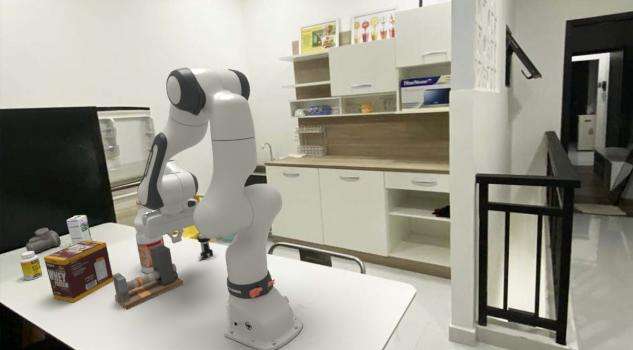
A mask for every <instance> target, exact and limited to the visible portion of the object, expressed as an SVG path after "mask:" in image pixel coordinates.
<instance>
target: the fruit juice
mask: <svg viewBox="0 0 633 350" xmlns="http://www.w3.org/2000/svg"><path fill="white" fill-rule="evenodd" d="M135 204H136V206H137V214H136V216H135V218H134V221H133V227H134V230H135V231H136V234H135V240H136V241H135V242H136V247H137V252H138V257H139V262H140V266H141V271H142V272H143V273H146V274H148V273H151V272H153V271H154V270H153V264H152V259H151V253H150V248H151V247H154V246H156V245H159V244H162V245H164V246H166V245H165V240H164V235H162V236H159V237H156V238H153V239H149V238H147V237H145V235H144V224H143V222H142V217H143V215H144V214H146V212H150V211H153V210H151V209H148V208H146V207H144V206H143V205H141V203H140V202H139V199H138V200H136V201H135ZM145 216H146V215H145Z"/></svg>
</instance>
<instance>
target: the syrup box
mask: <svg viewBox="0 0 633 350" xmlns="http://www.w3.org/2000/svg"><path fill="white" fill-rule="evenodd" d="M66 224H67V225H66V226H67V229H68V233H69V236H70V239H71V240H70V241H71V244H72V245H75V244H77V243H80V242H82V241H84V240H91V241H93V238H92V234H91V231H90V226H89V222H88V217H87V215H86V214H80V215H74V216H73V217H70V218H68V219H66Z"/></svg>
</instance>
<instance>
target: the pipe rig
mask: <svg viewBox="0 0 633 350" xmlns="http://www.w3.org/2000/svg"><path fill="white" fill-rule="evenodd" d="M172 265H173V271H174V277H175V280H174V281H172V282H170V283H168V284H165V285H163V284H162V283H160V282H159V281H157V279H159V278H161V275H160V270H156V271H153V272H151V273H146V274H144V275H141V276H136V277H135V278H134V279H130V280H129V281H127V278H126V276H124V275H122V274H121V273H120V272H117V273H114V274H112V277H113V281H112V282H113V285H114V290H115V295H114V298H115V300H116V302H117V303H119V304H120V305H121V306H122V307H123V308H124V309H125V310H126V311H127V310H129V309H130V310H131V309H132V308H134V307H137V306H138V305H141V304H143V303H145V302H147V301H149V300H152V299H154V298H157V297H159V296H161V295H163V294H165V293H167V292H169V291H171V290H174V289H176V288H178V287H180V286H183V285H184V281H183V279H181V278H180V277H179V276H178V271H177V265H176V264H175V263H172Z"/></svg>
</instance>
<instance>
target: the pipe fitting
mask: <svg viewBox="0 0 633 350" xmlns="http://www.w3.org/2000/svg"><path fill="white" fill-rule="evenodd" d="M34 234H35V235H36V236H34V237H32V238H30V239H29V240H28V242H27V243H26V244H25V248H26V252H28V251H34V253H35V255H36V254H39V253H40V252H42V251H45V250H47V249H49V248H51V247H54V248H56V247H59V246H61V243H62V240H61V238H60V236H59V234H58V233H57V232H56V231H54V230H49V228H48V227H42V228H39V229H37V230H36V231H34Z"/></svg>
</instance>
